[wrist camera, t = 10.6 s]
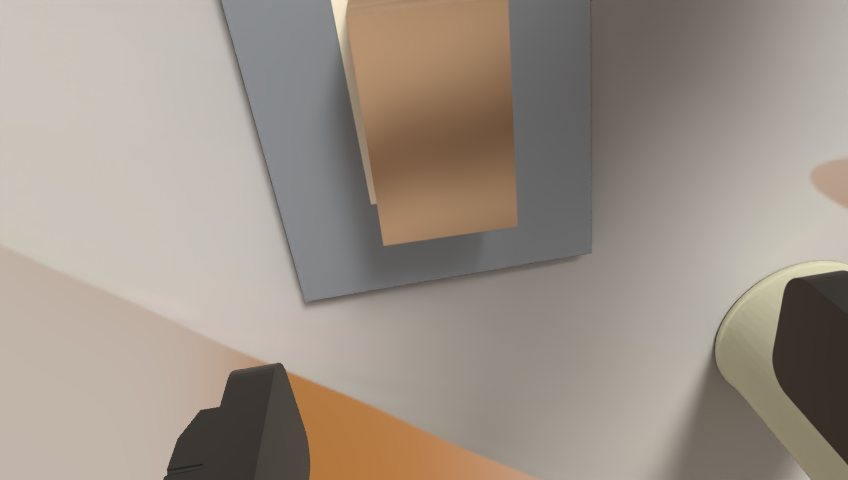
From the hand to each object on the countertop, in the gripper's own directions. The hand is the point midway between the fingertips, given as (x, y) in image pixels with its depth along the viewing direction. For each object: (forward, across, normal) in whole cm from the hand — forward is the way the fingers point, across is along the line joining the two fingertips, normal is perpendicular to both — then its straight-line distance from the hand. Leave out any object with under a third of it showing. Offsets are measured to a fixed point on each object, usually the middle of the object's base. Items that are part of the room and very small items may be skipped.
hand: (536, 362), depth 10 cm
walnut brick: (+17, 0, 0) cm, 17 cm away
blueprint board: (+18, 0, 0) cm, 18 cm away
